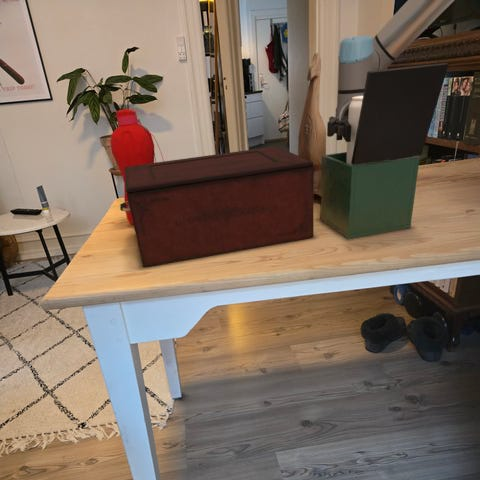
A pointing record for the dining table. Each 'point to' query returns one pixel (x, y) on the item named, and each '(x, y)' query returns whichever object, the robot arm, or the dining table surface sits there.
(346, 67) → the robot arm
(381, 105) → the black flat panel
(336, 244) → the dining table surface
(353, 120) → the beverage can
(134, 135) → the water bottle
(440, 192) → the dining table surface
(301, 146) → the bird sculpture
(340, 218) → the green cube bin
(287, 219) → the storage box
